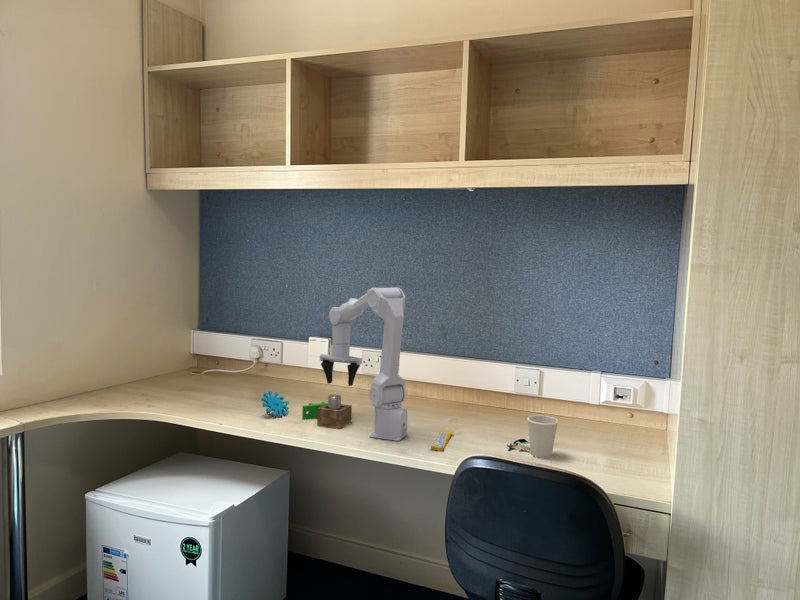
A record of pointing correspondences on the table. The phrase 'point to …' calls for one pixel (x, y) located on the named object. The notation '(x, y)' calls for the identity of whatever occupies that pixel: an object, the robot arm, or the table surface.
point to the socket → (334, 416)
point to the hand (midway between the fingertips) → (340, 384)
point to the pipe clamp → (311, 410)
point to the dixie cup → (542, 435)
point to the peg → (334, 402)
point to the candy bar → (442, 440)
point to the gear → (275, 404)
